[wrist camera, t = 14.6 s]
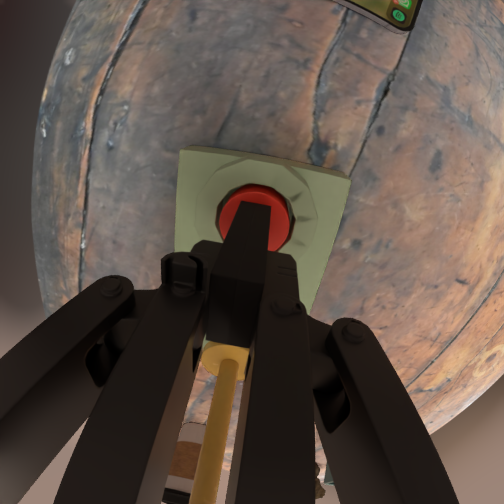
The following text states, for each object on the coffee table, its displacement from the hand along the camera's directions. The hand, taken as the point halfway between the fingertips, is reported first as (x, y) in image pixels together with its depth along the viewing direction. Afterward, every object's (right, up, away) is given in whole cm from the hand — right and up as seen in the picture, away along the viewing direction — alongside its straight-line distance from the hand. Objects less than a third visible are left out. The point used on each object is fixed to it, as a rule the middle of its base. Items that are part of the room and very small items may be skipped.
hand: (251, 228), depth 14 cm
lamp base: (0, -2, +6) cm, 7 cm away
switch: (0, +1, +2) cm, 2 cm away
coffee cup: (-8, -30, +23) cm, 38 cm away
